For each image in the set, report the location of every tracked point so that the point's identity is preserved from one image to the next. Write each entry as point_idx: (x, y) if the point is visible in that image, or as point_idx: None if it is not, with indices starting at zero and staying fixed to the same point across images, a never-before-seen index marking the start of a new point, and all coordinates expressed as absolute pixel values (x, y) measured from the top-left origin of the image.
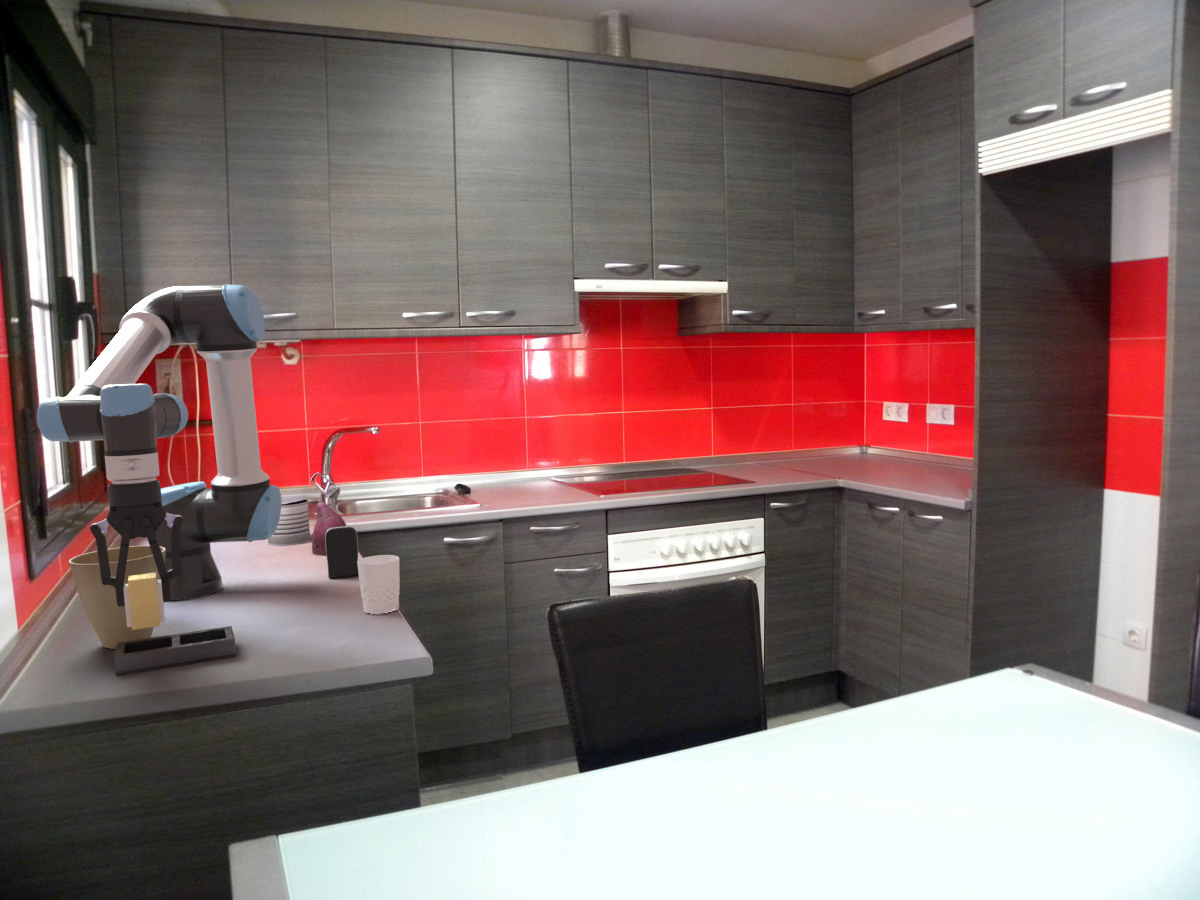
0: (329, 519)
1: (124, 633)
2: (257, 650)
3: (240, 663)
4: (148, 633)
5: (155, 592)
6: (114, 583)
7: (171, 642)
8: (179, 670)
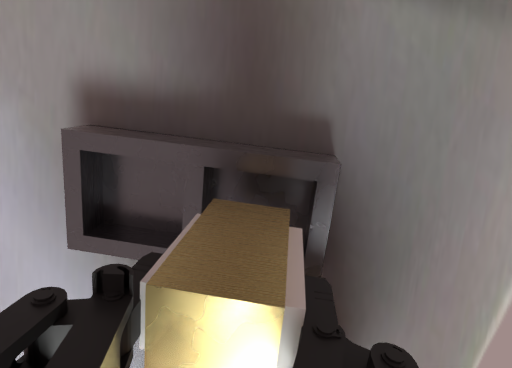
0: None
1: None
2: (47, 140)
3: (83, 64)
4: None
5: (181, 246)
6: (345, 349)
7: None
8: (208, 103)
